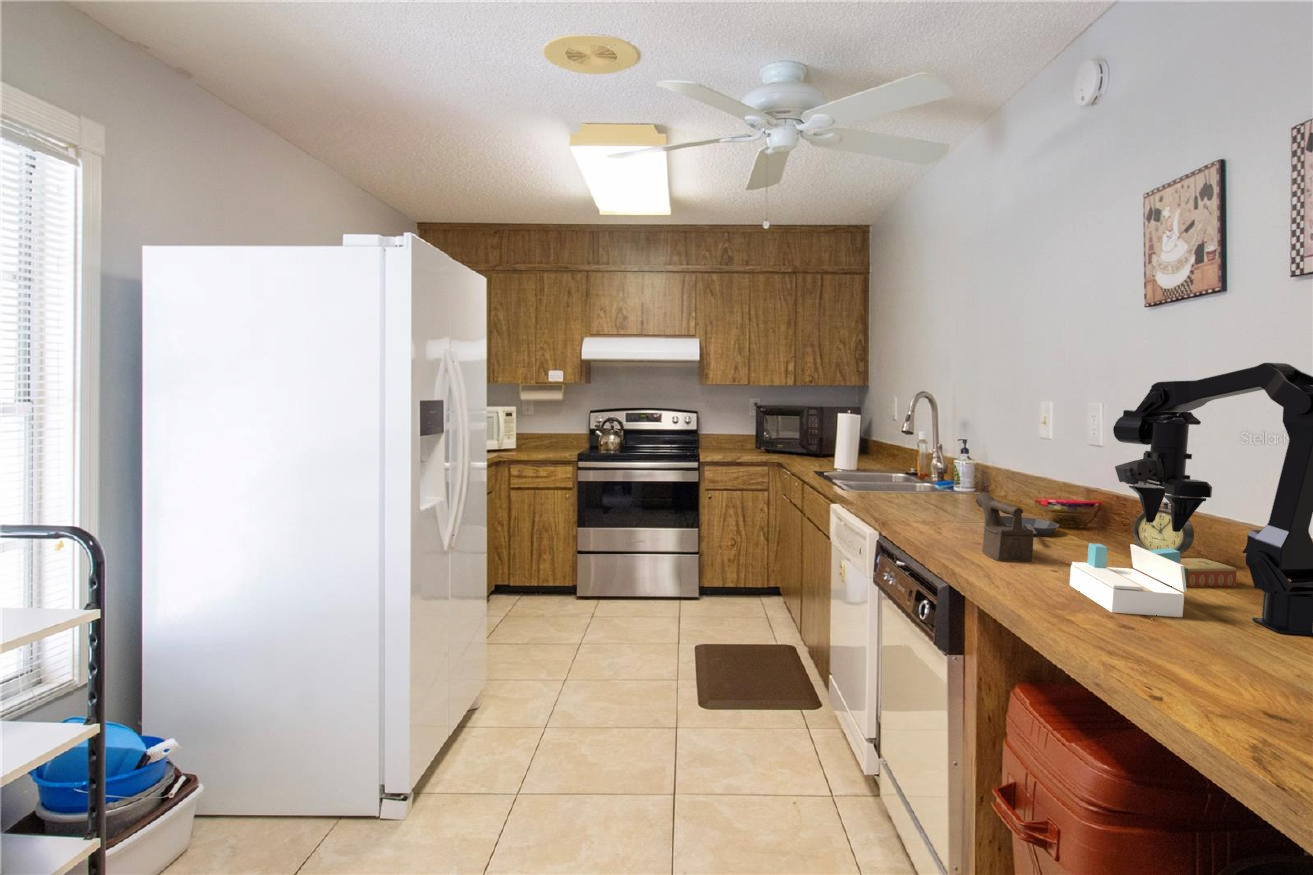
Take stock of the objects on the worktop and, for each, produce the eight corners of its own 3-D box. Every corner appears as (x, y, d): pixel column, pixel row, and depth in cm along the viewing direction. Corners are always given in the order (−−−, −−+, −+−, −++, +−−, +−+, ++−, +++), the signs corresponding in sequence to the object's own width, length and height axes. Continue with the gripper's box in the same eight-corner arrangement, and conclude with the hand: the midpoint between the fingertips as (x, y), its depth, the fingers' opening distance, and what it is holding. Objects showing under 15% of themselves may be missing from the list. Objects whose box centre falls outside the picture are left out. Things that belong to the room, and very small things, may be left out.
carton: (1236, 588, 138) (1238, 567, 138) (1160, 588, 137) (1162, 567, 137) (1201, 577, 147) (1202, 557, 146) (1128, 576, 145) (1130, 556, 145)
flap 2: (1183, 592, 118) (1213, 589, 117) (1180, 566, 118) (1210, 563, 117) (1132, 567, 134) (1158, 564, 133) (1130, 544, 134) (1155, 541, 133)
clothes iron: (997, 546, 170) (1001, 492, 169) (1034, 563, 154) (1038, 503, 153) (965, 546, 170) (968, 491, 169) (999, 562, 154) (1002, 502, 153)
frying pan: (1053, 528, 196) (1054, 515, 196) (1075, 552, 166) (1076, 537, 166) (983, 522, 203) (984, 509, 202) (992, 544, 173) (993, 529, 173)
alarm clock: (1130, 555, 163) (1135, 487, 162) (1144, 553, 166) (1149, 486, 165) (1181, 567, 154) (1187, 494, 152) (1195, 565, 156) (1201, 493, 155)
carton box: (1182, 617, 118) (1184, 593, 118) (1111, 612, 120) (1113, 589, 119) (1130, 589, 135) (1132, 568, 134) (1069, 585, 136) (1070, 564, 136)
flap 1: (1071, 564, 136) (1073, 541, 136) (1096, 565, 135) (1098, 543, 135) (1113, 588, 119) (1115, 562, 119) (1142, 590, 119) (1144, 564, 118)
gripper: (1100, 442, 145) (1095, 516, 146) (1148, 449, 126) (1142, 534, 127) (1159, 444, 143) (1153, 519, 144) (1217, 452, 125) (1210, 538, 126)
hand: (1162, 527), depth 135 cm, fingers open, 9 cm apart
